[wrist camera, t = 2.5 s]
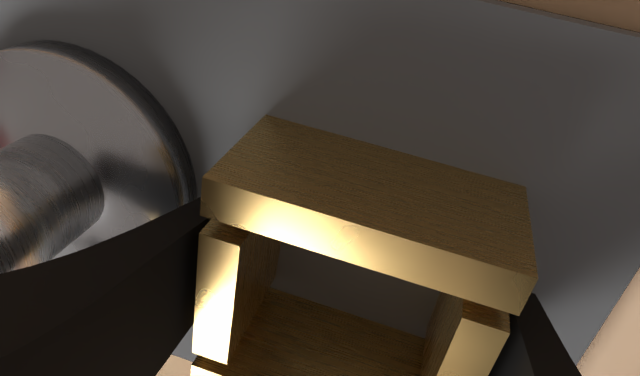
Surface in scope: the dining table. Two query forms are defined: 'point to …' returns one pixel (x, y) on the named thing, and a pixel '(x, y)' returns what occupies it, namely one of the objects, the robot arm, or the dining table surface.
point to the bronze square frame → (354, 257)
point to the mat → (402, 118)
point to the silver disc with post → (80, 153)
